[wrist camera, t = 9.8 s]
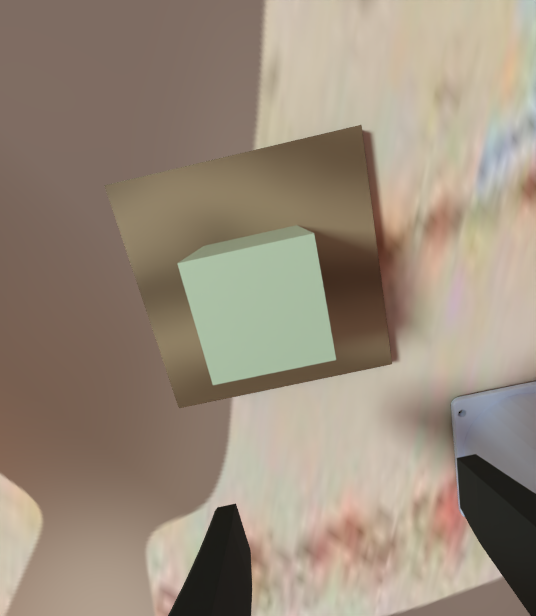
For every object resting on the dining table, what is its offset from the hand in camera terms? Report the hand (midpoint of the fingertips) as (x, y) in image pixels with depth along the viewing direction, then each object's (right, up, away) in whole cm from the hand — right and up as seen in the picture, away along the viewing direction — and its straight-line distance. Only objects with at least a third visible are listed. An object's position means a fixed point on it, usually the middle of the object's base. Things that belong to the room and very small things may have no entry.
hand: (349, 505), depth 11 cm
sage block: (-3, +8, +8) cm, 11 cm away
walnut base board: (-3, +8, +8) cm, 12 cm away
